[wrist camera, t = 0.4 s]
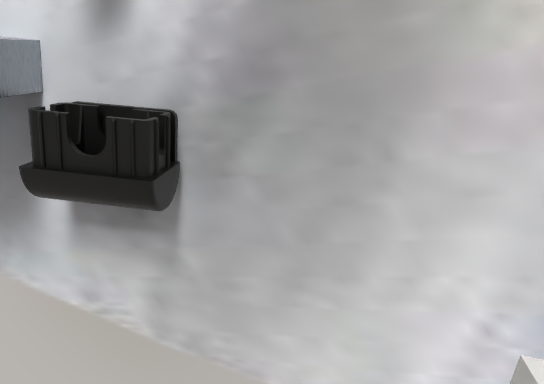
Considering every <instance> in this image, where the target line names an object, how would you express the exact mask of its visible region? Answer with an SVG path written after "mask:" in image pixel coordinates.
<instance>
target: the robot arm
mask: <svg viewBox="0 0 544 384" xmlns="http://www.w3.org/2000/svg"><path fill="white" fill-rule="evenodd" d="M510 384H544V360H541V359H537V358H532V357H527V356H522V355H521V356H520V359H519V361H518V364H517V366H516V369H515V372H514V374H513V377H512V379H511V382H510Z"/></svg>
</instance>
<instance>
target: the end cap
mask: <svg viewBox="0 0 544 384" xmlns="http://www.w3.org/2000/svg"><path fill="white" fill-rule="evenodd" d="M28 111H29V123H30V134H31V146H32V158H33V161H32V162H29V163H27V164H24V165H21V166H19V169H20V175H21V178H22V181H23V183H24V185H25V187H26V188H27V189H28V190H29V192H31V193H32V194H33V195H35V196H38V197H42V198H51V199H59V200H68V201H77V202H85V203H94V204H103V205H111V206H120V207H129V208H137V209H146V210H155V211H162V210H164V209H166V208H167V207H168V206H169V204H170V203H171V201H172V199H173V196H174V194H175V191H176V187H177V183H178V177H179V167H180V162H178V161H177V127H178V118H177V114H176V113H175V112H174V111H172V110H166V109H155V108H144V107H133V106H122V105H111V104H100V103H90V102H79V101H77V102H72V103H56V104H51V105H50V111H47V110H45V107H35V108H30V109H28Z"/></svg>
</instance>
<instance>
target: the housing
mask: <svg viewBox="0 0 544 384" xmlns="http://www.w3.org/2000/svg"><path fill="white" fill-rule="evenodd" d="M35 92H43V89H42V73H41V57H40V41H39V40H29V39H19V38H8V37H0V97H7V96H14V95H21V94H28V93H35Z"/></svg>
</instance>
